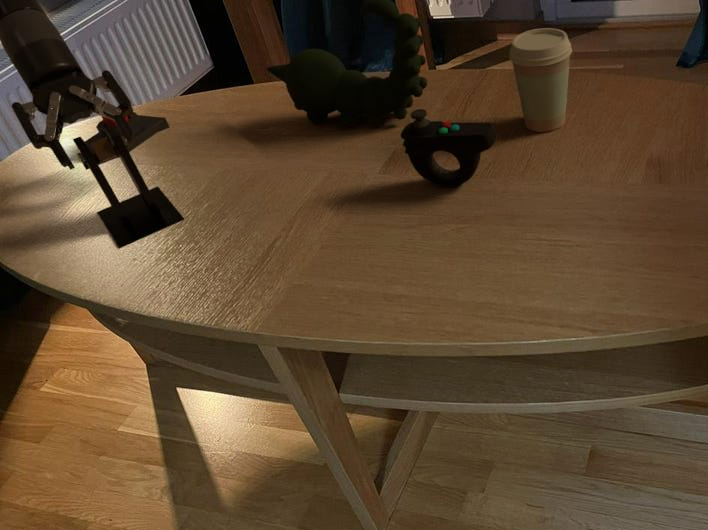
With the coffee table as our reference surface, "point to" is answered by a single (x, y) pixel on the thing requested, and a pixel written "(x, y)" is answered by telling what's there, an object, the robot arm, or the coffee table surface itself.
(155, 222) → the bracket
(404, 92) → the toy figurine
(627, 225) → the coffee table surface
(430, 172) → the controller
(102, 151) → the lever
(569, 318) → the coffee table surface
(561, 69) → the coffee cup
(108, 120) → the button
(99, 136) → the button block
